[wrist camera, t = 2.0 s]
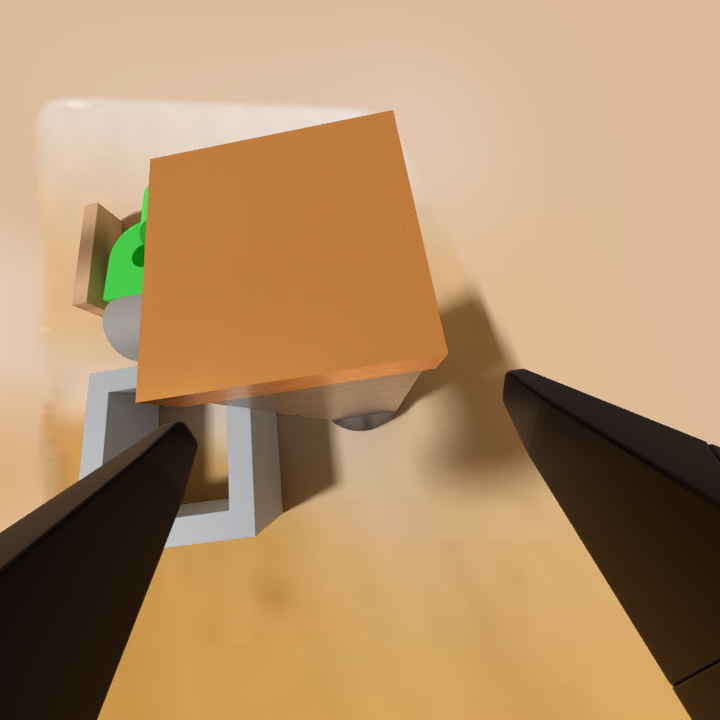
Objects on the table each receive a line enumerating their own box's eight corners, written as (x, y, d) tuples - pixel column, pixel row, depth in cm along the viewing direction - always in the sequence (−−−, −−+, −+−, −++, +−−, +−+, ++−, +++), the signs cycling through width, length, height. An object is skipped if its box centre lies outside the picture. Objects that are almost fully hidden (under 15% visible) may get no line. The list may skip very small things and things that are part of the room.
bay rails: (317, 279, 19) (309, 262, 17) (102, 316, 20) (72, 305, 18) (306, 186, 21) (298, 162, 19) (111, 224, 22) (85, 205, 20)
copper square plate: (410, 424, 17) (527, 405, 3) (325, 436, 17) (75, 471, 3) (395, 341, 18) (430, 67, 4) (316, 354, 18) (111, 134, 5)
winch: (282, 513, 16) (250, 540, 12) (135, 532, 16) (58, 564, 13) (268, 294, 19) (239, 260, 16) (147, 315, 20) (89, 288, 16)
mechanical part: (286, 220, 21) (229, 99, 13) (289, 291, 20) (225, 203, 12) (138, 241, 22) (3, 139, 14) (129, 312, 20) (-28, 241, 13)
